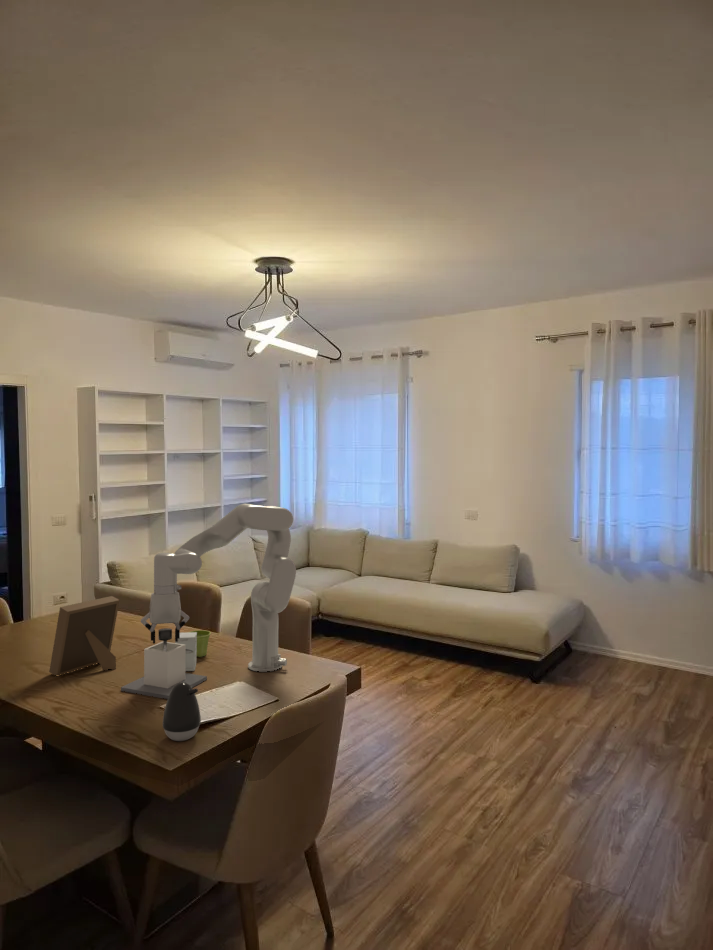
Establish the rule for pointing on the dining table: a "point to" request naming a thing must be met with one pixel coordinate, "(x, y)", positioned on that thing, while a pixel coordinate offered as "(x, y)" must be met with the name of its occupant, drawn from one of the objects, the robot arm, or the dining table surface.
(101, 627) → the photo frame
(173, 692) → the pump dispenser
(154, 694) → the grey square base
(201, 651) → the plant pot
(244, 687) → the dining table surface
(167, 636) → the plunger
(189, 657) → the supplement box
